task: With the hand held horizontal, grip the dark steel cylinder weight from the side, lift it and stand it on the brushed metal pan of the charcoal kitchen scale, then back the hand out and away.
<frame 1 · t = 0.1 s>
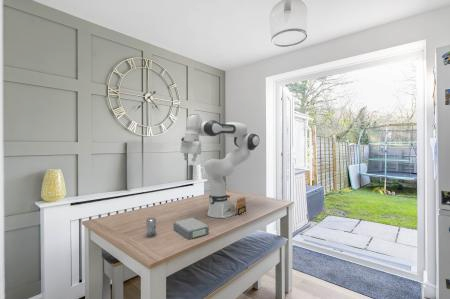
hand: (189, 160, 149), 39 cm above the table, tool pointing down, fingers open, 8 cm apart
kitchen scale: (190, 231, 133), on the table
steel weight: (151, 235, 127), on the table
ammunition clip: (240, 214, 168), on the table
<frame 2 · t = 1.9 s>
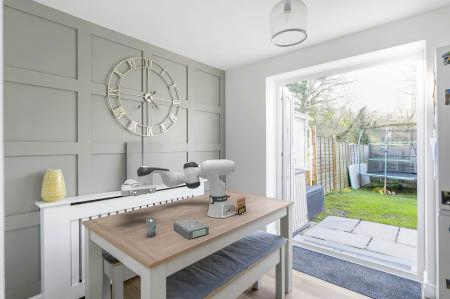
hand: (143, 193, 137), 21 cm above the table, tool horizontal, fingers open, 8 cm apart
nothing on the table moved.
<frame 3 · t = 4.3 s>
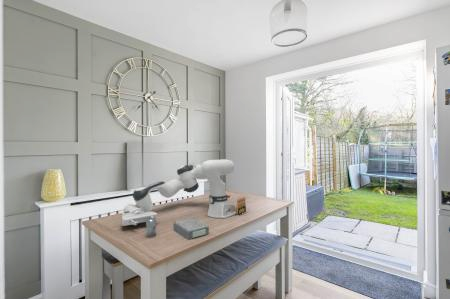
hand: (144, 221, 134), 5 cm above the table, tool horizontal, fingers open, 8 cm apart
nothing on the table moved.
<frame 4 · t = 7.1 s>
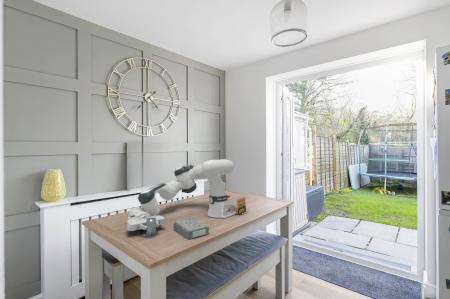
hand: (151, 226, 126), 5 cm above the table, tool horizontal, fingers closed on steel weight, 5 cm apart
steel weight: (151, 235, 127), on the table, touching gripper
everything else where it was.
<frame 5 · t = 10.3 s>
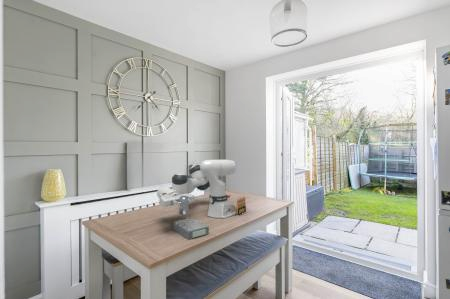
hand: (184, 203, 131), 17 cm above the table, tool horizontal, fingers closed on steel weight, 5 cm apart
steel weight: (183, 212, 132), point 11 cm above the table, touching gripper
everything else where it was.
when the fingers open (11 cm above the table, at t = 13.6 s): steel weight stays where it is, resting on kitchen scale.
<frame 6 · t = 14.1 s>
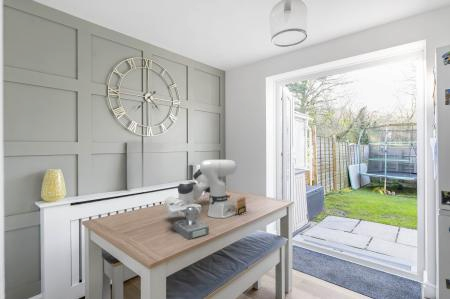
hand: (191, 213, 132), 11 cm above the table, tool horizontal, fingers open, 8 cm apart
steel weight: (190, 223, 133), point 5 cm above the table, touching kitchen scale
everything else where it was.
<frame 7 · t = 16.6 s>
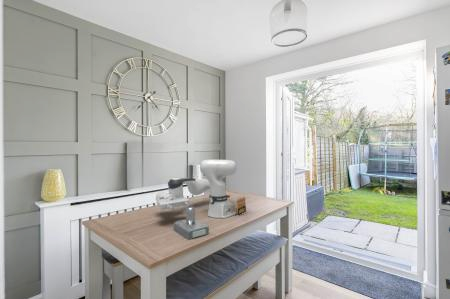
hand: (179, 206, 142), 12 cm above the table, tool horizontal, fingers open, 8 cm apart
nothing on the table moved.
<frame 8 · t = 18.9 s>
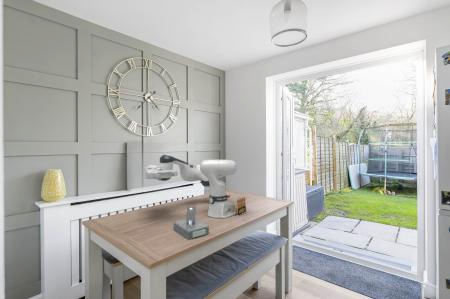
hand: (167, 175, 146), 30 cm above the table, tool horizontal, fingers open, 8 cm apart
nothing on the table moved.
at the end: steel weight inside the target area on the kitchen scale (0.1 cm from its centre), point 4.9 cm above the kitchen scale's base; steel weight tilted 2°; the gripper is holding nothing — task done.
